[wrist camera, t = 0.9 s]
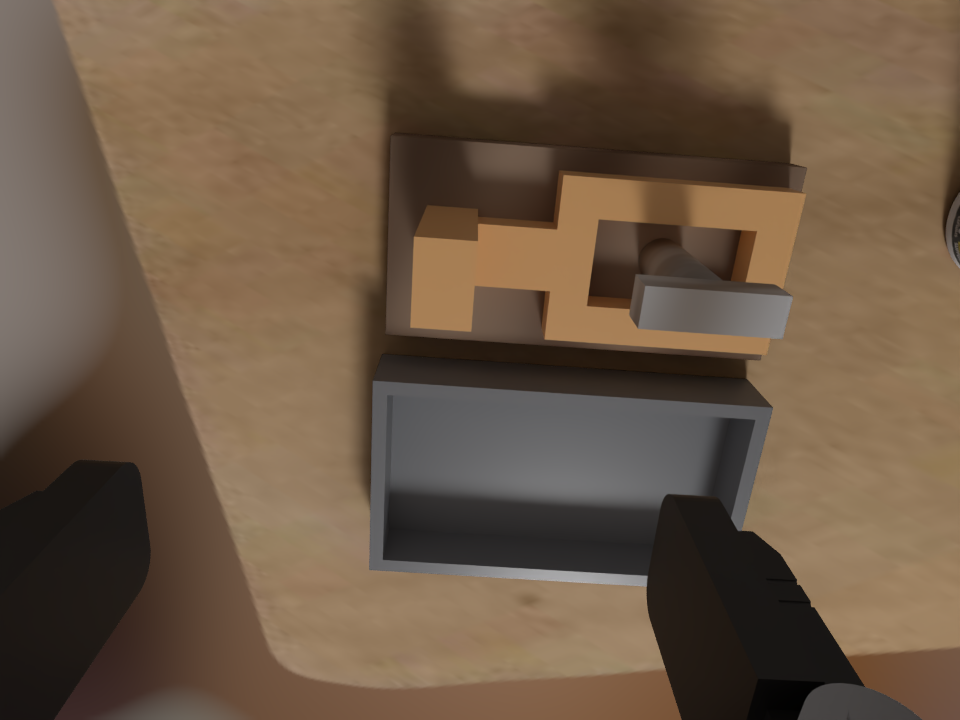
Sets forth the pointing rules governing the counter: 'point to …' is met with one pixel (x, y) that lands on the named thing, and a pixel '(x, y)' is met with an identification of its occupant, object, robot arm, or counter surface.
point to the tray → (548, 465)
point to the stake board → (618, 249)
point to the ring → (570, 251)
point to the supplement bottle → (954, 231)
